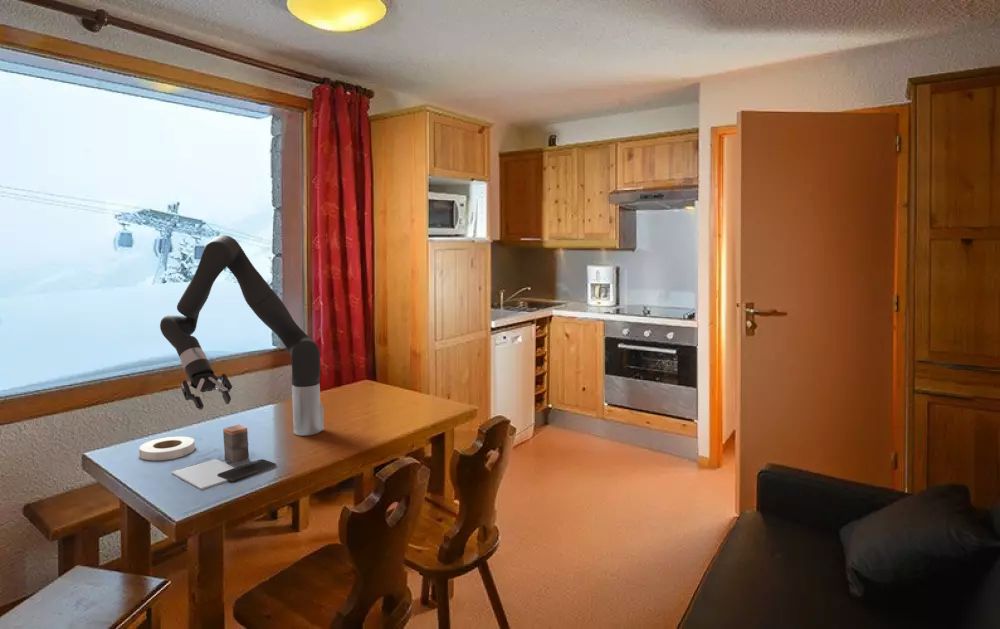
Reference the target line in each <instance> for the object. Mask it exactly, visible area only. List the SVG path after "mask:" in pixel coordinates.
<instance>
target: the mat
mask: <svg viewBox="0 0 1000 629" xmlns="http://www.w3.org/2000/svg"><path fill="white" fill-rule="evenodd" d="M233 468H235V467H234V466H232V465H230V464H227V463H225V462H224V461H221V460H219V459H218V458H214V459H212V460H207V461H205V462H204V461H203V462H201V463H197V464H195V465H191V466H187V467H183V468H181V469H177V470H173V471H171V475H174V476H175V477H177V478H179V479H181V480H183V481H184V482H186V483H187V484H190V485H192V486H194V487H195V488H197V489H199V490H200V491H202V490H205V489H208V488H211V487H215V486H218V485H221V484H224V483H228V482H227V480H226V479H224V478H221V477H218V476H217V474H219V473H222V472H225V471H228V470H231V469H233Z"/></svg>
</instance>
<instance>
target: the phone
mask: <svg viewBox="0 0 1000 629" xmlns="http://www.w3.org/2000/svg"><path fill="white" fill-rule="evenodd" d="M275 468H277V463H275V462H272V461H270V460H266V459H263V458H262V459H257V460H254V461H251V462H249V463H245V464H243V465H239V466H237V467H234V468H233V469H231V470H228V471H225V472H222V473H219V474H217V476H218V477H221V478H224V479H226V480H227V482H226V483H228V484H229V483H230V484H233V483H238V482H239V481H243V480H245V479H248V478H251V477H254V476H257V475H259V474H262V473H264V472H267V471H269V470H272V469H275Z"/></svg>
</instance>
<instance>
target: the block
mask: <svg viewBox="0 0 1000 629" xmlns="http://www.w3.org/2000/svg"><path fill="white" fill-rule="evenodd" d="M222 430H223V447H224V448H223V449H224V452H223V453H224V460H225V461H226V462H227V463H231V464H233V465H234V464H237V463H241V462H244V461H247V460H250V458H249V457H250V456H249V453H250V452H249V438H248V437H249V436H248V427H246V426H244V425H242V424H236V425H231V426H229V427H228V426H227V427H224V428H222Z"/></svg>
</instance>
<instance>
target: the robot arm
mask: <svg viewBox="0 0 1000 629" xmlns="http://www.w3.org/2000/svg"><path fill="white" fill-rule="evenodd" d="M226 268H227V269H228V270H229V271H230V273H231V274H232V275H233V276H234V277H235V279H236V280H237V282H238V285H239V288H240V290H241V293H242V297H243V298H244V301H245V302H246V304H247V306H249V307H250V310H252V311H253V313H254V314H255V316H256V317H258V319H260V321H262V323H263V324H264V325H265V326H267V327H268V328H269V329H270V330H271V331H272V332H273V333H274V334H275V335H277V337H278V338H279V340H280V341H281V343H282V344H283V345H284V347H285V348H286V350H287V351H288V352H289V355H290V356H291V393H292V394H291V397H292V419H293V423H292V424H293V434H294V435H296V436H302V437H303V436H312V435H317V434H319V433H320V432H322V431H324V430H325V428H324V426H325V425H324V405H323V403H322V402H321V388H320V386H321V384H320V379H321V353H320V348H319V346H318V345H317V343H316V342H315V340H313V339H312V338H310V336H308V335H307V334H306V332H304V331H303V329H301V327H300V326H299V325H298V324H297V323H296V321H295V320H294V319H293V318H292V315H291V314H290V312H289V310H288V308H287V307H286V305H285V304H284V302H283V300H282V299H281V298H280V297H279V296H278V295H277V293H276V292H275V291H274V290H273V288H272V287H271V285H269V283H268V282H267V281H266V280H265V278H264V277H263V276H262V275H261V273H260V272H259V271H258V270H257V269H256V268H255V266H254V265H253V263H252V262H251V260H250V258H249V257H248V255H247V254H246V253H245V251H244V249H243V248H242V246H241V245H240V243H239V242H238V241H237V240H236V239H235V238H234V237H232V236H230V235H226V234H221V235H218V236H216V237H214V238H213V239H211V240H210V241H209V242H207V243H206V245H205V246H204V248H203V251H202V254H201V257H200V260H199V263H198V266H197V268H196V271H195V272H194V275H193V277H192V278H191V280H190V282H189V283H188V285H187V286H186V289H185V290H184V292H183V294H182V296H181V298H180V299H179V301H178V303H177V305H176V310H177V311H178V312H179V314H181V315H174V314H173V315H172V314H170V315H165V316H164V317H162V318H161V320H160V323H159V328H160V331H161V332H160V333H161V334H162V336H163V337H164V338H165V339H166V340H167V342H169V344H170V345H171V346H172V347H173V348H175V350H176V353H177V355H178V357H179V359H180V363H181V366H182V369H183V370H184V372H185V374H186V377H187V379H188V381H187V380H182V382H181V385H180V388H181V392H182V394H183V396H184V399H185V401H189V400H190V401H192V402H193V404H194V405H195V407H196V408H197V409H198V410H202V411H203V409H204V407H205V406H204V404H203V401H202V399H201V396H199V394H200V393H206V392H212V391H213V392H215V393H220V394H221V397H222V399H223V401H224V402H225V405H229V404H230V402H231V400H232V397H231V395H230V392H231V390H232V388H233V384H232V383H231V382H230V380H229V378H228V376H227V375H226V374H225V373H222V374H221V375H218V376H217V375H216V374H215V372H214V369H213V368H212V365H211V363H210V361H209V359H208V357H207V354H206V353H205V352H204V351H203V348H202V347H201V344H200V343H199V340H198V339H197V337H196V336H193V334H194V333H195V332H196V330H197V325H198V320H199V315H200V312H201V310H203V308H204V306H205V304H206V303H207V300H208V298H209V296H210V294H211V291H212V287H213V285H214V283H215V281H216V279H217V278H218V277H219V276H220V274H222V272H223V271H224V270H225V269H226ZM216 386H217V387H216ZM190 387H192V388H193V389H195V391H194V393H192V391H191V388H190Z"/></svg>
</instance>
